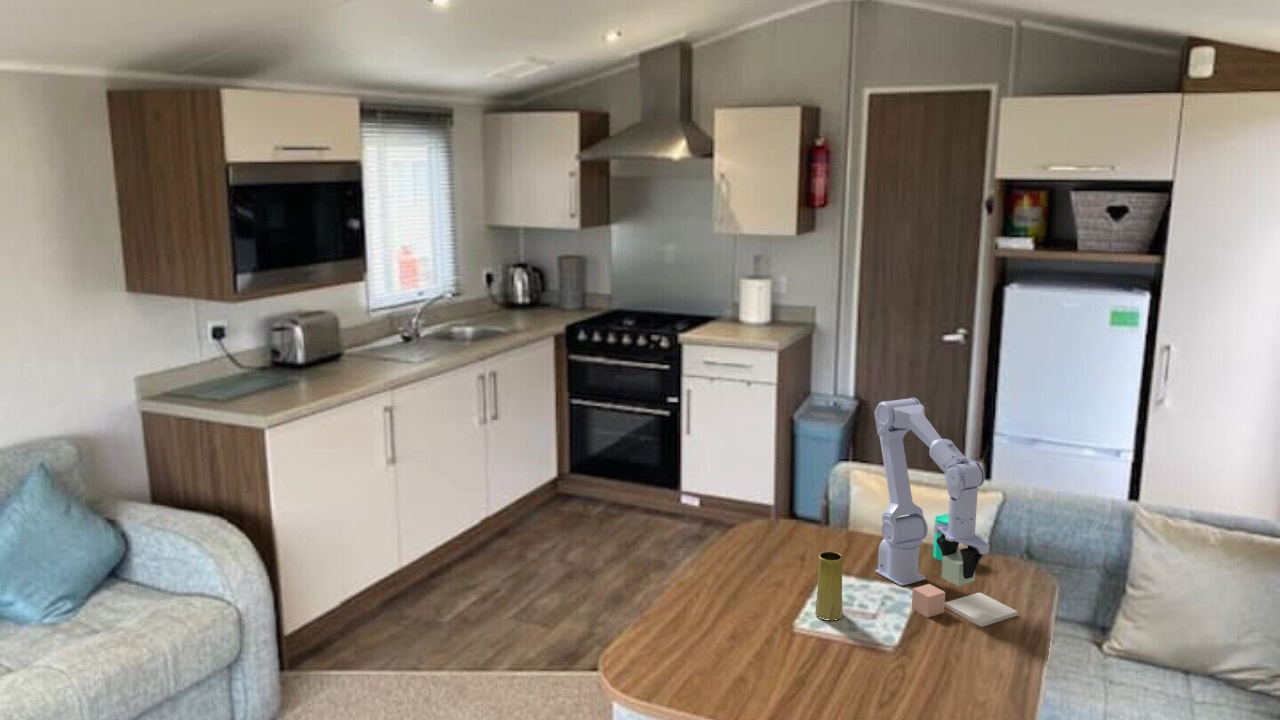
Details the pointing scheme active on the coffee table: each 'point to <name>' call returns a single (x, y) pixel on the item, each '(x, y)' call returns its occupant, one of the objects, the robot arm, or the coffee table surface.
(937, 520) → the candle
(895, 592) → the coffee table surface
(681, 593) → the coffee table surface
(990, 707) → the coffee table surface
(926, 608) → the brick top
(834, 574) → the vase
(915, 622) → the coffee table surface
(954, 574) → the brick bottom
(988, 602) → the base plate
